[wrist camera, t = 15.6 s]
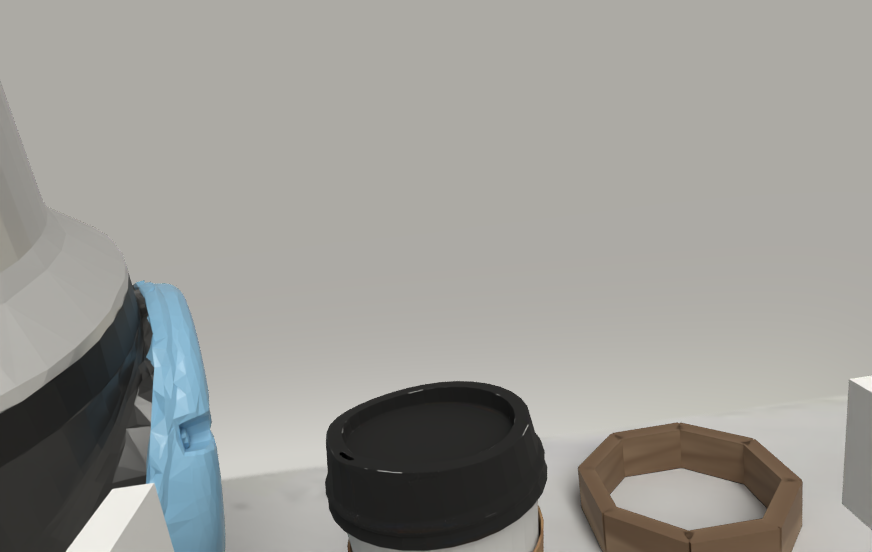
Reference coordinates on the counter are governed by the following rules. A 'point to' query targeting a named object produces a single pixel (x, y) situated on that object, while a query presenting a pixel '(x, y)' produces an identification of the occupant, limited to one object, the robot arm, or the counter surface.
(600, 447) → the cup cradle
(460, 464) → the coffee cup
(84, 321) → the robot arm
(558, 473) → the counter surface
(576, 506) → the counter surface
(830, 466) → the counter surface
